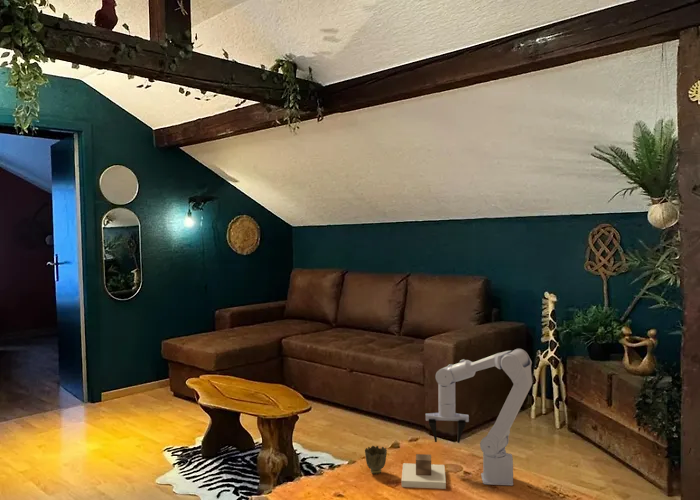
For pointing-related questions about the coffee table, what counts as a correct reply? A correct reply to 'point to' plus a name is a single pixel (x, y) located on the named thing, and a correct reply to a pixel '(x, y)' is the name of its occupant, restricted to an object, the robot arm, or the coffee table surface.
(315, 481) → the coffee table surface
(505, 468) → the robot arm
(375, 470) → the cup
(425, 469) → the walnut block
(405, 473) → the base board
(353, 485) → the coffee table surface
